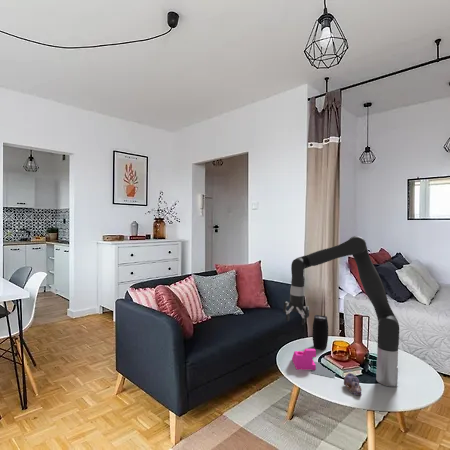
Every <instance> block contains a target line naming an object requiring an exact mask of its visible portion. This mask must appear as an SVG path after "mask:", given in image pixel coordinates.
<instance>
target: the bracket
mask: <svg viewBox="0 0 450 450" xmlns="http://www.w3.org/2000/svg"><path fill="white" fill-rule="evenodd" d="M316 356H317V350H316V348H304V350H302V351H301V350H299V351H298V350H296V351H295V350H294V352H293V355H292V358H291V361H292V362H293V365H294V368H295V370H298V371H299V370H302V371H303V370H304V371H305V370H307V371H308V370H309V371H311V370H316V365H315V363H314V362H315V361H314V359H313V358H316Z"/></svg>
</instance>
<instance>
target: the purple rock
mask: <svg viewBox="0 0 450 450" xmlns="http://www.w3.org/2000/svg"><path fill="white" fill-rule="evenodd" d="M343 385H344V386H345V387H346V389H347V390H348V391H349V392H350V393H351V394H353V395H360V396H362V387H361V385H360V380H359V378H358V377H357V376H356V375H354V373H351V372H349V373H347V374H346V375H345V377H344V379H343Z"/></svg>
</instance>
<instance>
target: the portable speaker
mask: <svg viewBox="0 0 450 450" xmlns="http://www.w3.org/2000/svg"><path fill="white" fill-rule="evenodd" d="M328 341H329V321H328V317H327V316H326V315H319V314H314V318H313V321H312V343H313V349H320V350H322V351H324V350H326V349H327V347H328Z"/></svg>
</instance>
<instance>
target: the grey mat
mask: <svg viewBox="0 0 450 450" xmlns="http://www.w3.org/2000/svg"><path fill="white" fill-rule="evenodd" d="M314 363H315V365H316V370H310V374H313V375H317V376H318V375H319V376H321V377H322V376H323V377H326V378H332V379H335V376H336V373H333V372H332V371H330V370H328V369H327V368H325V367H323V366H322V365H321V364H320V363H321V362H318V361H314Z"/></svg>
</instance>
